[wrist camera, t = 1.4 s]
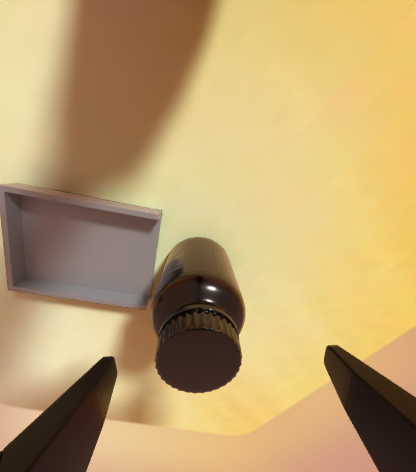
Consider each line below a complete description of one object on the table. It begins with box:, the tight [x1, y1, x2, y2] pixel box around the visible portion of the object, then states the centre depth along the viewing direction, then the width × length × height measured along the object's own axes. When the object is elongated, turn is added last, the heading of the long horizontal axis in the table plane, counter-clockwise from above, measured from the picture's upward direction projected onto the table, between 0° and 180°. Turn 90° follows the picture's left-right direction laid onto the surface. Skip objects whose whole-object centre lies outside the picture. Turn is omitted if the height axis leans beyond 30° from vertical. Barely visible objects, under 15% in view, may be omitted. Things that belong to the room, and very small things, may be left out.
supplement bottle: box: [151, 237, 245, 393], centre depth 17 cm, size 7×7×12 cm
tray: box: [0, 183, 162, 310], centre depth 20 cm, size 14×10×2 cm
